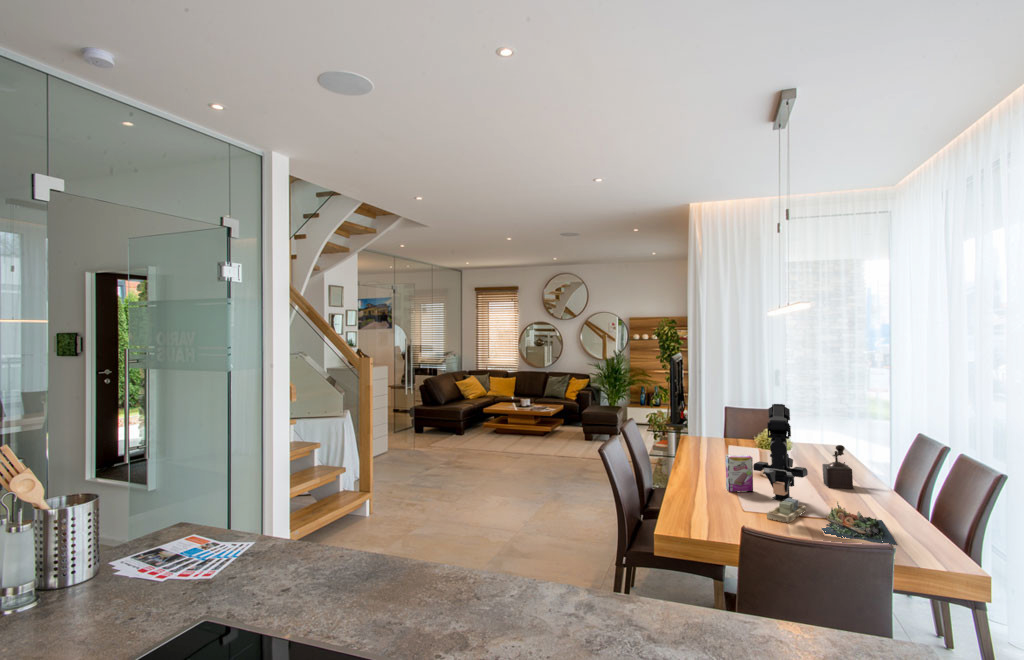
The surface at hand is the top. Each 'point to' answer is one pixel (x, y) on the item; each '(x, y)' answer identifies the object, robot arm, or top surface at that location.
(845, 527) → the plated dish
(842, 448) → the manual coffee grinder
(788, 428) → the robot arm
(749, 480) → the candy bar box
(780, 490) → the terracotta block
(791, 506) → the block frame
